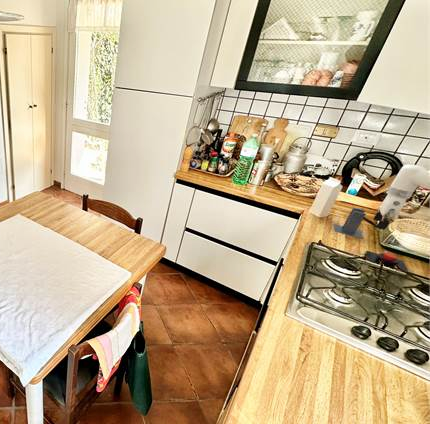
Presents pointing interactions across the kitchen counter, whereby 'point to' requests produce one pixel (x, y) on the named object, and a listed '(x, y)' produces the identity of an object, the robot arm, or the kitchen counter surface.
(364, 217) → the lever
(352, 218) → the bracket
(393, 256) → the button
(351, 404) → the kitchen counter surface
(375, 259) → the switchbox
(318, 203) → the milk
